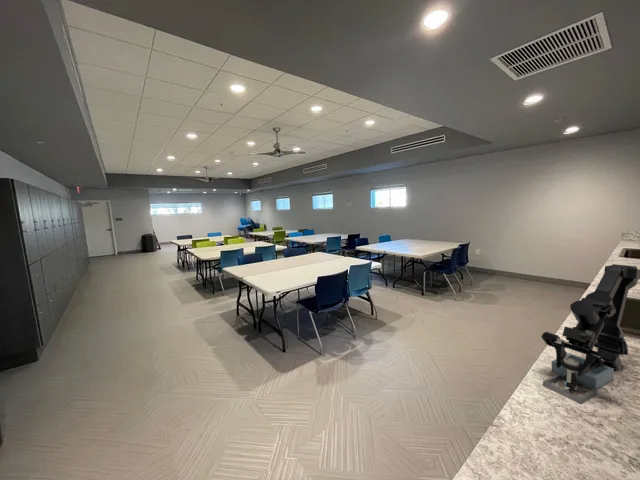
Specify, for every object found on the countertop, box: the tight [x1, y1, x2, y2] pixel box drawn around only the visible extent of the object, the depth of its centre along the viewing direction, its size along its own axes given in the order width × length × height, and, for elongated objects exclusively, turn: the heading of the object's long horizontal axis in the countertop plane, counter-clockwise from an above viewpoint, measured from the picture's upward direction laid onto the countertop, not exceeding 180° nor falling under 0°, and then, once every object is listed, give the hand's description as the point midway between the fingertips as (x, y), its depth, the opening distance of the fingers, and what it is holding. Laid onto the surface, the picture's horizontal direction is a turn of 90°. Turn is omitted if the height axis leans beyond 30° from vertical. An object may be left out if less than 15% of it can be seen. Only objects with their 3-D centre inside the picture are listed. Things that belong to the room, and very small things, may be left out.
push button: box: [560, 357, 582, 393], centre depth 87 cm, size 7×5×10 cm
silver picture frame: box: [542, 373, 599, 405], centre depth 87 cm, size 10×10×2 cm
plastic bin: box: [550, 352, 615, 390], centre depth 94 cm, size 12×12×4 cm
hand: (567, 371), depth 86 cm, fingers closed on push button, 5 cm apart
